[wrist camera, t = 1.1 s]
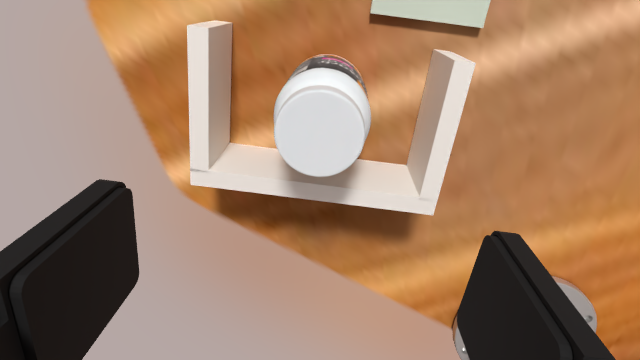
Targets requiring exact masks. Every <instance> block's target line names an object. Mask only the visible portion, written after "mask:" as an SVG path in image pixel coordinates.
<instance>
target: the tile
mask: <svg viewBox="0 0 640 360" xmlns="http://www.w3.org/2000/svg"><path fill="white" fill-rule="evenodd" d="M489 4H490V0H372V2H371V9H370V13H373V14H380V15H388V16H396V17H403V18H411V19H418V20H426V21H433V22H441V23H449V24H456V25H464V26H471V27H479V28H483V26H484V22H485V18H486V15H487V11H488V8H489Z"/></svg>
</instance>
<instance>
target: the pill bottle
mask: <svg viewBox="0 0 640 360" xmlns="http://www.w3.org/2000/svg"><path fill="white" fill-rule="evenodd" d="M370 124H371V111H370V105H369V101H368V97H367V91H366V88H365V84H364V81H363V79H362V76H361V74H360V73H359V71H358V70H357V69H356V67H355V66H354V65H353V64H351V63H350V62H349V61H347V60H346V59H344V58H342V57H339V56H336V55H331V54H322V55H317V56H313V57H311V58H309V59H307V60H305V61H304V62H302V63H301V64H300V65H299V66H298V67H297V68H296V70H295V71H294V72H293V74H292V75H291V77H290V78H289V79H288V81H287V83H286V84H285V85H284V87H283V88H282V90H281V92H280V93H279V95H278V97H277V100H276V103H275V108H274V125H275V126H274V138H275V143H276V146H277V149H278V151H279V153H280V155H281V156H282V158H283V159H284V160H285V162H286V163H287V164H288V165H289V166H291V167H292V168H293V169H295V170H297V171H298V172H300V173H303V174H305V175H309V176H314V177H327V176H332V175H335V174H338V173H340V172H342V171H344V170H345V169H347V168H348V167H350V166H351V165H352V164H353V163H354V162H355V161H356V159H357V158H358V156H359V155H360V153H361V151H362V148H363V145H364V142H365V140H366V138H367V135H368V133H369V129H370Z"/></svg>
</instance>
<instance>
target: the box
mask: <svg viewBox="0 0 640 360" xmlns="http://www.w3.org/2000/svg"><path fill="white" fill-rule="evenodd" d="M187 43H188V88H189V132H190V177H191V185H197V186H205V187H213V188H221V189H229V190H237V191H245V192H253V193H261V194H269V195H277V196H284V197H292V198H300V199H308V200H316V201H324V202H332V203H340V204H348V205H356V206H364V207H372V208H380V209H387V210H395V211H403V212H411V213H419V214H427V215H433V214H434V210H435V207H436V203H437V200H438V196H439V193H440V189H441V185H442V182H443V178H444V175H445V171H446V167H447V164H448V160H449V157H450V153H451V150H452V146H453V142H454V139H455V135H456V132H457V128H458V125H459V121H460V117H461V114H462V110H463V107H464V103H465V100H466V96H467V92H468V89H469V85H470V82H471V78H472V75H473V71H474V67H475V64H476V63H474V62H472V61H470V60H468V59H466V58H464V57H461V56H459V55H457V54H455V53H453V52H451V51H444V50H436V49H433V53H432V57H431V61H430V66H429V70H428V74H427V79H426V83H425V87H424V92H423V96H422V100H421V104H420V109H419V113H418V117H417V122H416V126H415V130H414V135H413V139H412V143H411V148H410V152H409V156H408V161H407V165H400V164H392V163H385V162H377V161H369V160H361V159H356V161H355V162H354V163H353V164H352V165H351V166H350V167H348V168H347V169H345V170H344V171H342V172H340V173H338V174H335V175H332V176H327V177H314V176H309V175H305V174H303V173H300V172H298V171H297V170H295V169H293V168H292V167H291V166H289V165H288V164H287V163H286V162H285V160H284V159H283V158H282V156H281V155H280V153H279V151H278V149H275V148H267V147H259V146H251V145H244V144H236V143H230V105H231V62H232V23H231V22H223V21H216V20H215V21H209V22H203V23H197V24H192V25H187Z"/></svg>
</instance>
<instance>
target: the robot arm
mask: <svg viewBox="0 0 640 360" xmlns="http://www.w3.org/2000/svg"><path fill="white" fill-rule="evenodd" d="M138 277H139V265H138V253H137V242H136V230H135V219H134V208H133V196H132V192H131V190H130V189H128V188H126V186H125V184H124V183H123V182H117V181H109V180H100V179H99V180H97V181H95V182H94V183H93V184H91V185H90V186H89V187H87V188H86V189H85V190H83V191H82V192H81V193H79V194H78V195H76V196H75V197H74V198H72V199H71V200H70V201H68V202H67V203H66V204H64V205H63V206H61V207H60V208H59V209H57V210H56V211H55V212H53V213H52V214H51V215H49V216H48V217H47V218H45V219H44V220H42V221H41V222H40V223H38V224H37V225H36V226H34V227H33V228H32V229H30V230H29V231H28V232H26V233H25V234H23V235H22V236H21V237H20V238H18V239H17V240H15V241H14V242H13V243H11V244H10V245H9V246H7V247H6V248H4V249H3V250H2V251H0V360H82V359H83V357H84V356H85V355H86V353H87V352H88V350H89V349H90V348H91V346H92V345H93V343H94V342H95V341H96V339H97V338H98V337H99V335H100V334H101V332H102V331H103V330H104V328H105V327H106V325H107V324H108V323H109V321H110V320H111V319H112V317H113V316H114V314H115V313H116V312H117V310H118V309H119V307H120V306H121V305H122V303H123V302H124V300H125V299H126V298H127V296H128V295H129V293H130V292H131V291H132V289H133V288H134V286H135V285H136V283H137V280H138ZM596 327H597V317H596V312H595V310H594V307H593V305H592V304H591V302H590V301H589V300H588V298H587V297H586V296H585V295H584V293H583V292H582V291H580V290H579V289H578V288H577V287H576V286H575V285H573V284H571V283H570V282H568V281H566V280H563V279H560V278H558V277H555V276H551V275H550V274H549V272H548V271H547V270H546V269H545V267H544V266H543V265H542V263H541V262H540V261H539V259H538V258H537V257H536V256H535V254H534V253H533V252H532V250H531V249H530V248H529V246H528V245H527V244H526V243H525V241H524V240H523V239H522V237H521V236H520V235H519V234H516V233H508V232H500V231H494V232H493V233H492V234H491V236H489V235H487V236H485V238H484V239H483V242H482V245H481V248H480V250H479V253H478V256H477V259H476V262H475V265H474V267H473V270H472V273H471V276H470V279H469V282H468V284H467V287H466V290H465V293H464V296H463V299H462V301H461V304H460V307H459V310H458V313H457V316H456V318H455V321H454V325H453V340H454V344H455V347H456V350H457V352H458V354H459V356H460V358H461V359H462V360H616V359H615V358H614V357H613V356H612V354H611V353H610V352H609V350H608V349H607V348H606V346H605V345H604V344H603V343H602V341H601V340H600V339H599V337H598V336H597V335H596V334H595V333H596Z"/></svg>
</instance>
